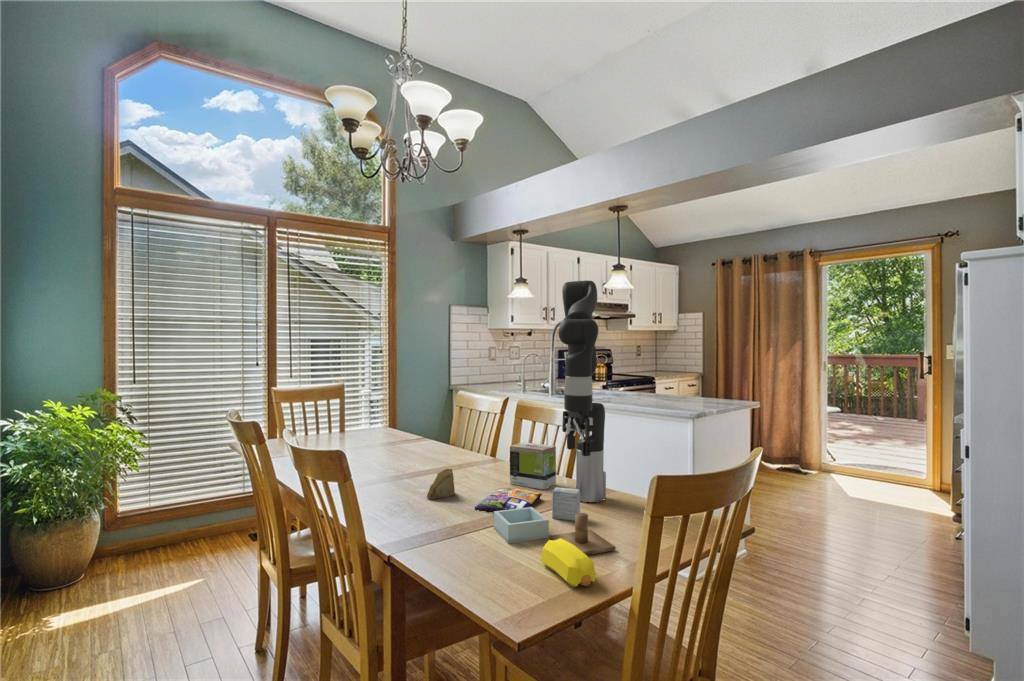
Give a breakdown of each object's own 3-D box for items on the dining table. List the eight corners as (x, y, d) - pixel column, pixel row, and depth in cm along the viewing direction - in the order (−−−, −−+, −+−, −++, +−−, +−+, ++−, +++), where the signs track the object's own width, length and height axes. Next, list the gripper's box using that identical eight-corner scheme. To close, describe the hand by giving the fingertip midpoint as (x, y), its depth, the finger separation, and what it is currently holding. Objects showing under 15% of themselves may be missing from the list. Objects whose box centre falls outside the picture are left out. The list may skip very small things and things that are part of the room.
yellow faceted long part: (561, 557, 136) (535, 562, 133) (562, 530, 136) (535, 535, 133) (602, 587, 120) (573, 594, 117) (603, 557, 120) (573, 563, 117)
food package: (551, 501, 184) (551, 488, 184) (520, 524, 161) (520, 510, 161) (494, 493, 193) (494, 481, 193) (458, 514, 171) (458, 500, 171)
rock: (425, 495, 179) (455, 490, 181) (423, 471, 184) (452, 467, 186) (428, 506, 188) (456, 501, 189) (426, 483, 193) (453, 479, 194)
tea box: (556, 484, 202) (556, 445, 202) (543, 490, 194) (543, 449, 194) (522, 478, 211) (522, 440, 210) (508, 484, 202) (509, 445, 202)
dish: (531, 523, 160) (531, 506, 160) (548, 537, 149) (548, 519, 148) (493, 528, 155) (493, 511, 155) (508, 543, 144) (508, 525, 144)
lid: (590, 532, 152) (591, 505, 152) (615, 549, 139) (615, 519, 139) (549, 538, 147) (549, 510, 147) (570, 556, 135) (571, 526, 135)
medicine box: (580, 517, 166) (580, 489, 166) (577, 521, 162) (577, 493, 161) (555, 514, 168) (555, 486, 168) (552, 518, 164) (552, 490, 164)
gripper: (604, 395, 140) (604, 457, 140) (577, 389, 153) (577, 445, 153) (578, 396, 137) (578, 459, 137) (554, 390, 150) (554, 448, 150)
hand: (578, 452), depth 145 cm, fingers open, 8 cm apart
